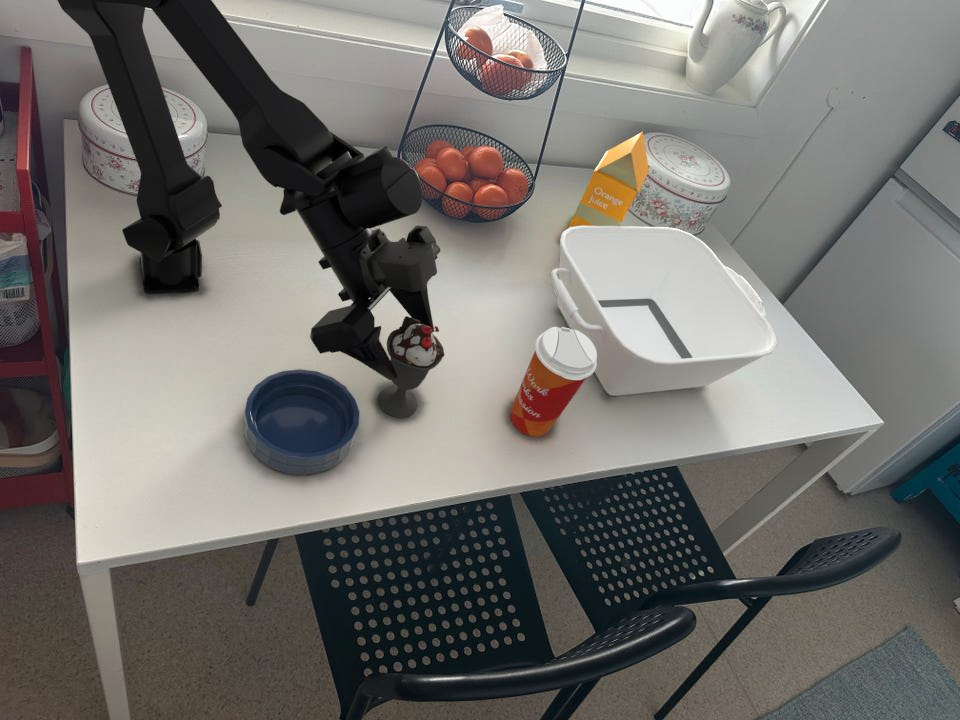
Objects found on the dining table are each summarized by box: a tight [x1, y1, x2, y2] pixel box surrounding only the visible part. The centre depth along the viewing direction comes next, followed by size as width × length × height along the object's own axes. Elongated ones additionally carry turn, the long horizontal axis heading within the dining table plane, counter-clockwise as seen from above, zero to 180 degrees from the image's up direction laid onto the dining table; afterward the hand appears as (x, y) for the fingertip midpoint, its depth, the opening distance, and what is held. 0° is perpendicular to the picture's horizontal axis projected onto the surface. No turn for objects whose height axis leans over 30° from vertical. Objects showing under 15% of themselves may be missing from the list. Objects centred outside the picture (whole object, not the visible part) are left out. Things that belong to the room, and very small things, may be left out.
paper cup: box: [510, 326, 597, 437], centre depth 87 cm, size 8×8×14 cm
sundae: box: [377, 315, 446, 418], centre depth 83 cm, size 7×7×15 cm
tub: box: [550, 225, 778, 398], centre depth 103 cm, size 34×27×13 cm
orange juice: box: [567, 130, 650, 229], centre depth 117 cm, size 8×9×20 cm
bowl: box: [242, 368, 360, 476], centre depth 80 cm, size 12×12×4 cm
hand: (412, 354), depth 82 cm, fingers open, 9 cm apart
